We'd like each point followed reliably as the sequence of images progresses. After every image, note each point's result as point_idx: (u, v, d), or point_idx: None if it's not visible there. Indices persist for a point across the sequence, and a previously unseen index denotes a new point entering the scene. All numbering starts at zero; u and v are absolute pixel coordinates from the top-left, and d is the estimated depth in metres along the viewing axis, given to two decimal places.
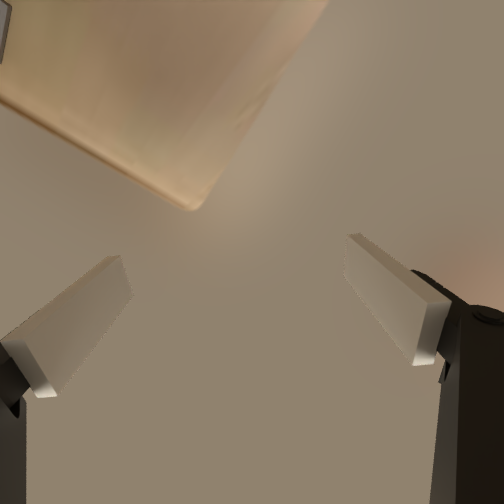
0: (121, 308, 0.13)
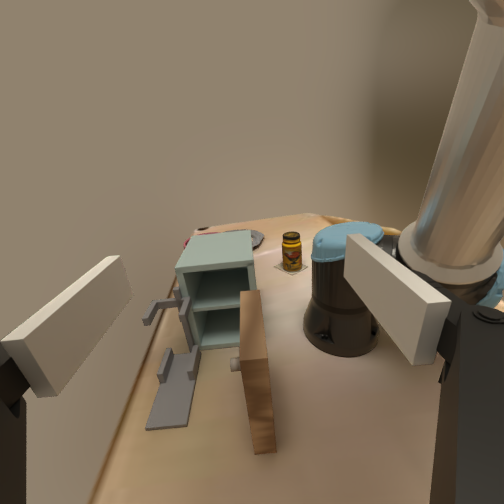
0: (121, 308, 0.13)
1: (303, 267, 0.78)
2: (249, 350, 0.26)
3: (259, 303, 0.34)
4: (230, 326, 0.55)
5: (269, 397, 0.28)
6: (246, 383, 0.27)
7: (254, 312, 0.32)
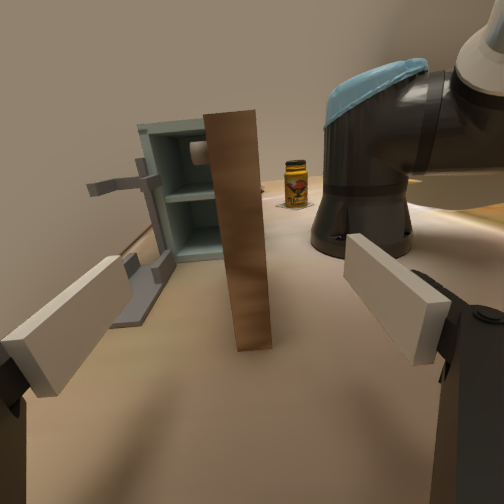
0: (121, 308, 0.13)
1: (309, 204, 0.66)
2: None
3: None
4: (217, 241, 0.43)
5: (259, 219, 0.16)
6: (218, 180, 0.15)
7: None
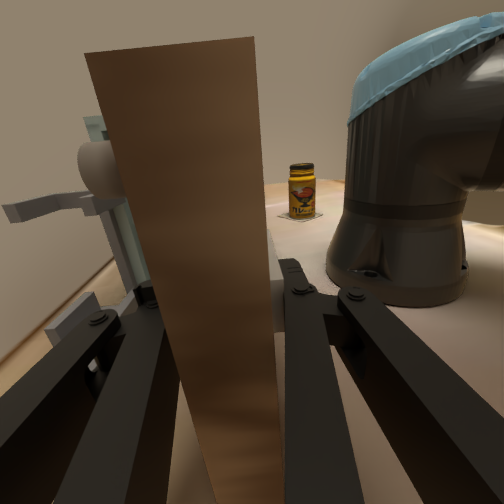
0: None
1: (317, 215, 0.57)
2: None
3: None
4: None
5: (265, 326, 0.07)
6: (157, 244, 0.06)
7: None
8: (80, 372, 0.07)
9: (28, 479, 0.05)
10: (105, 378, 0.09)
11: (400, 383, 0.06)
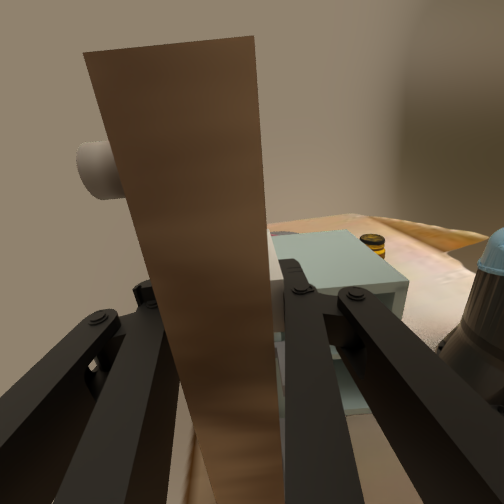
0: None
1: None
2: None
3: None
4: None
5: (265, 327, 0.07)
6: (156, 245, 0.06)
7: None
8: (80, 372, 0.07)
9: (28, 479, 0.05)
10: (105, 378, 0.09)
11: (400, 383, 0.06)
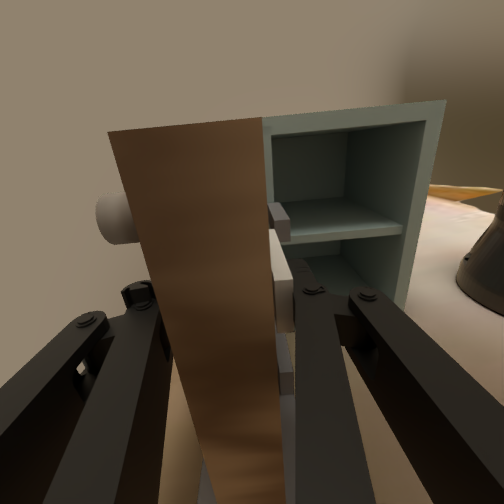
0: None
1: None
2: None
3: None
4: None
5: (269, 360, 0.07)
6: (170, 290, 0.06)
7: None
8: (68, 374, 0.07)
9: (16, 483, 0.05)
10: (94, 381, 0.08)
11: (412, 384, 0.06)
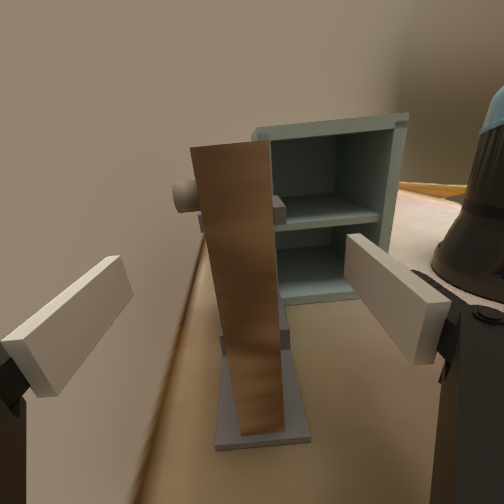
0: (121, 308, 0.13)
1: None
2: None
3: None
4: (316, 273, 0.34)
5: (272, 285, 0.12)
6: (214, 237, 0.10)
7: None
8: None
9: None
10: None
11: None
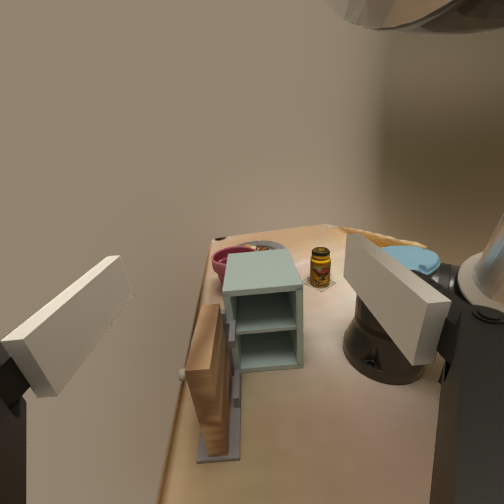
0: (121, 308, 0.13)
1: (331, 283, 0.77)
2: (196, 361, 0.30)
3: (215, 317, 0.37)
4: (267, 347, 0.53)
5: (215, 404, 0.31)
6: (193, 391, 0.30)
7: (209, 326, 0.36)
8: None
9: None
10: None
11: None
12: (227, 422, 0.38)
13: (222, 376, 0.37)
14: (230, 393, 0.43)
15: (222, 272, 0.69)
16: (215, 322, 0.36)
